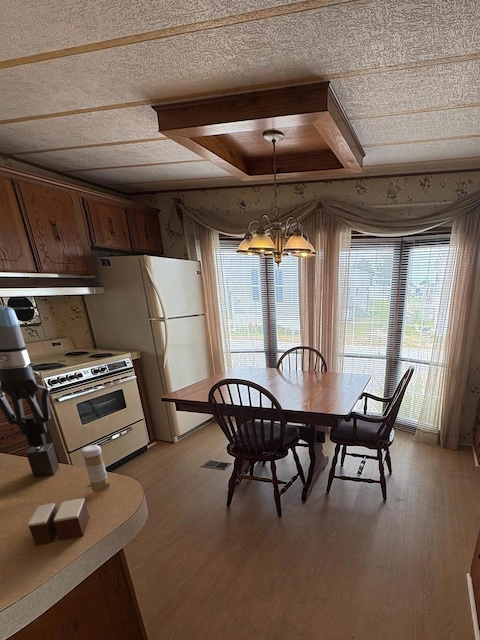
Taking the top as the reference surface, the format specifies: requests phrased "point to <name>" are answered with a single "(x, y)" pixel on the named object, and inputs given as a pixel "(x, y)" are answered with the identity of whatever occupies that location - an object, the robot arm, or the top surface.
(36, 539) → the cake slice
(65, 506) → the cake
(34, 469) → the knife block
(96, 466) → the sprinkles bottle
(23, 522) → the top surface
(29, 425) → the knife
